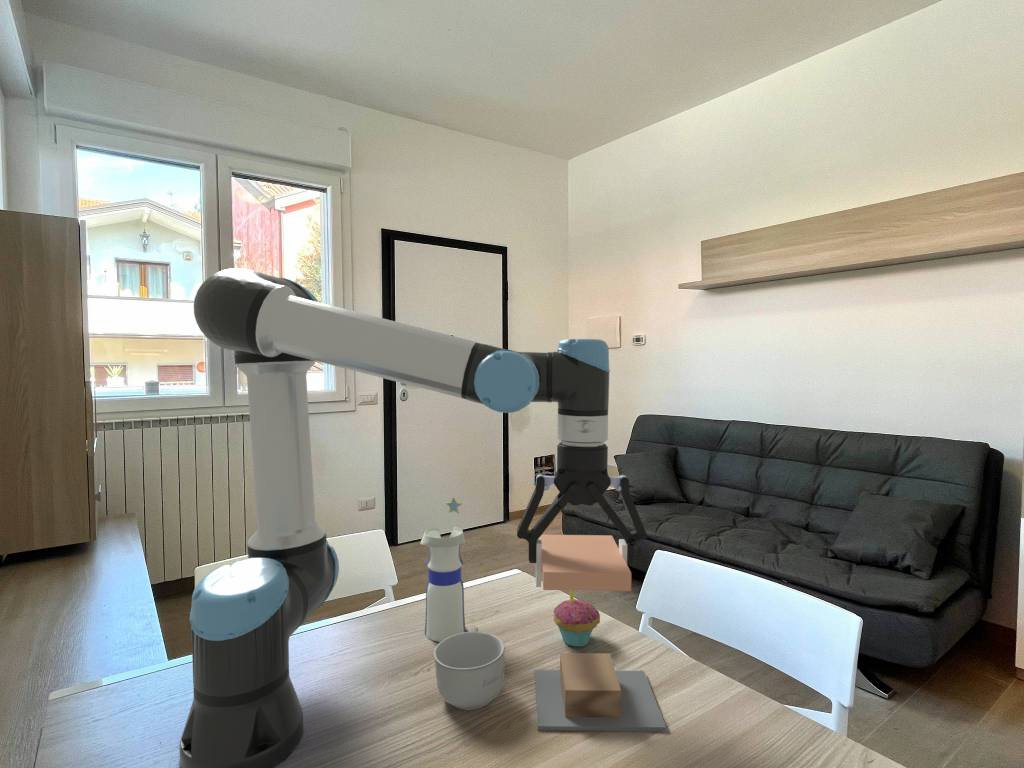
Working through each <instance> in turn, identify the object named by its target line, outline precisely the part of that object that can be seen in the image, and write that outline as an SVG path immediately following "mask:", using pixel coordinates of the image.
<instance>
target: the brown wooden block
mask: <svg viewBox="0 0 1024 768" xmlns="http://www.w3.org/2000/svg"><path fill="white" fill-rule="evenodd" d="M559 670H560V681H561V688H562V696H563V704H564V712H565V717H601V718H621V689H620V685H619V682H618V679H617V675H616V672H615V671H616V670H615V667H614V663H613V660H612V656H611V653H608V652H607V653H603V652H602V653H600V652H599V653H598V652H594V653H593V652H591V653H590V652H586V653H585V652H583V653H582V652H581V653H580V652H578V653H577V652H576V653H575V652H572V653H571V652H560V654H559Z"/></svg>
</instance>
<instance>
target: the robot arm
mask: <svg viewBox="0 0 1024 768" xmlns="http://www.w3.org/2000/svg"><path fill="white" fill-rule="evenodd" d="M193 299H194V301H193V315H194V320H195V322H196V324H197V326H198V328H199V330H200V331H201V334H203V336H204V337H206V338H207V339H208V340H209V341H210V342H211V343H213V344H215V345H216V346H217V347H219V348H222V349H225V350H228V351H232V352H233V355H234V366H235V368H236V369H238V370H239V371H240V372H242V373H243V374H244V375H245V377H246V381H247V396H248V413H249V425H250V428H249V429H250V440H251V444H250V445H251V456H252V457H251V459H252V469H253V470H252V471H253V474H252V475H253V487H254V500H255V502H254V503H255V515H256V516H255V518H256V527H257V528H256V530H255V532H254V533H253V534H252V535H251V536H250V537H249V539H247V542H246V543H247V558H244V559H239V560H236V561H233V563H231V564H224V565H222V566H219V567H218V568H215V569H213V570H211V571H210V572H209V573H207V574H206V575H205V576H204V577H203V578H201V580H200V581H198V583H197V585H196V586H195V588H194V590H193V592H192V595H191V607H190V612H189V622H190V628H191V652H192V653H191V654H192V655H191V656H192V657H191V658H192V678H193V679H192V682H193V683H192V684H193V699H192V703H191V705H190V706H191V707H190V710H189V712H188V715H187V719H186V722H185V726H184V728H183V731H182V735H181V736H180V737H181V738H180V740H179V766H180V768H273V767H275V766H276V765H278V764H279V763H280V762H282V761H283V760H285V759H286V758H287V757H288V756H289V755H290V754H291V753H293V751H294V750H295V749H296V747H297V746H298V745H299V743H300V742H301V739H302V738H303V735H304V729H305V728H304V722H305V721H304V720H305V719H304V710H303V706H302V704H301V702H300V700H299V697H298V694H297V692H296V689H295V687H294V683H293V682H292V680H291V677H290V650H289V645H290V643H289V641H290V637H291V636H292V635H293V634H294V633H295V632H296V631H297V630H298V628H299V627H301V625H303V624H304V622H306V621H307V620H308V619H309V617H310V616H311V615H313V613H314V612H315V611H317V610H318V609H320V607H321V606H322V605H323V604H324V603H326V601H327V599H329V597H330V595H331V593H332V591H333V590H334V588H335V586H336V584H337V581H338V578H339V573H340V572H339V571H340V566H339V565H340V564H339V558H338V555H337V552H336V550H335V548H334V547H333V546H331V545H330V543H329V541H328V539H327V530H326V528H325V527H324V526H323V525H321V524H320V523H319V522H317V521H316V510H315V507H316V506H315V496H314V495H315V494H314V491H315V490H314V478H313V477H314V476H313V463H312V462H313V461H312V447H311V434H310V433H311V430H310V429H311V428H310V414H309V401H308V386H307V385H308V382H307V373H309V372H308V371H310V369H311V368H312V367H313V366H314V365H315V364H316V362H318V363H322V364H326V365H331V366H335V367H338V368H342V369H344V370H349V371H353V372H357V373H361V374H366V375H370V376H373V377H378V378H381V379H385V380H389V381H393V382H397V383H400V384H401V383H402V384H404V385H409V386H413V387H417V388H420V389H423V390H424V389H425V390H428V391H432V392H437V393H440V394H443V395H444V394H445V395H448V396H451V397H452V396H453V397H455V398H461V399H463V400H466V401H469V402H473V403H477V404H481V405H484V406H485V407H487V408H489V409H490V410H492V411H495V412H498V413H505V414H508V413H509V414H510V413H511V414H513V413H516V412H519V411H521V410H523V409H524V408H526V407H528V406H529V405H530V404H531V403H557V433H556V434H557V437H556V438H557V439H558V440H559V441H560V442H559V443H558V444H557V447H556V452H557V453H556V471H555V474H554V475H544V474H543V473H537V475H536V476H535V488H534V490H533V492H532V495H531V496H530V499H529V502H528V504H527V506H526V508H525V510H524V513H523V514H522V517H521V519H520V521H519V524H518V526H517V529H516V537H517V538H518V539H520V540H521V539H523V540H526V541H527V543H528V562H529V563H530V564H535V587H536V588H542V572H541V564H542V542H541V538H539V537H540V536H541V535H544V532H545V531H546V530H547V528H548V527H549V526H550V525H551V524H552V522H553V521H554V520H555V518H556V517H557V516H558V515H559V513H560V512H561V511H562V510H563V509H564V508H565V507H566V506H567V504H570V505H571V506H579V505H585V506H594V505H596V504H597V503H598V505H599V506H600V508H601V509H602V510H603V512H604V513H605V514H606V515H607V517H608V518H609V520H610V521H611V522H612V523H613V525H614V526H615V528H616V529H617V530H618V532H619V533H620V534H621V536H622V537H623V538H619V539H618V548H619V551H620V553H621V555H622V556H623V558H624V560H625V562H626V564H627V565H633V564H634V562H635V545H636V543H637V542H638V541H645V540H647V538H648V534H647V532H646V529H645V526H644V525H643V522H642V520H641V517H640V514H639V512H638V510H637V507H636V505H635V503H634V500H633V498H632V494H631V493H630V479H629V478H628V477H627V476H626V475H625V474H623V473H622V474H618V476H609V472H608V458H609V456H608V455H609V451H608V450H609V449H608V448H609V447H608V446H607V444H606V443H605V442H606V441H608V439H609V396H610V395H609V394H610V392H609V391H610V372H611V370H610V355H609V354H610V352H609V345H608V344H607V342H606V341H605V340H603V339H600V338H599V339H597V338H595V339H594V338H564V339H560V340H559V342H558V347H557V351H552V352H535V351H534V352H532V351H516V350H512V349H506V348H503V347H502V348H501V347H497V346H493V345H490V344H484V343H480V342H477V341H474V340H470V339H466V338H462V337H458V336H455V335H450V334H447V333H443V332H438V331H435V330H430V329H426V328H422V327H417V326H414V325H411V324H408V323H407V324H406V323H402V322H399V321H395V320H390V319H387V318H383V317H378V316H376V315H371V314H370V315H369V314H368V313H363V312H359V311H354V310H351V309H348V308H343V307H339V306H336V305H332V304H327V303H323V302H319V301H318V299H317V298H316V295H314V294H313V293H312V291H310V290H308V289H307V288H305V287H304V286H302V285H300V284H298V283H297V282H296V281H293V280H291V279H288V278H285V277H277V276H273V275H269V274H266V273H263V272H258V271H256V270H253V269H248V268H242V267H241V268H237V267H235V268H227V269H222V270H219V271H218V272H215V273H213V274H212V275H210V276H209V277H207V278H206V279H205V280H204V281H203V282H202V283H201V285H200V286H199V288H198V289H197V291H196V294H195V296H194V298H193ZM552 485H554V486H555V487H556V489H557V490H558V493H557V495H556V496H555V498H554V499H553V501H551V504H550V505H549V506H548V507H547V509H546V510H545V511H544V513H543V514H542V515H541V516H540V518H539V519H538V520H537V521H536V523H535V524H534V525H533V527H531V529H529V528H530V525H531V523H532V521H533V518H534V516H535V514H536V512H537V510H538V507H539V505H540V503H541V501H542V499H543V496H544V493H545V491H549V489H550V487H551V486H552ZM611 485H612V486H613V488H614V489H615V491H617V492H618V493H619V495H620V498H621V500H622V502H623V505H624V507H625V509H626V512H627V515H628V517H629V519H630V522H631V524H632V527H633V528H634V530H630V529H629V528H628V527H627V525H626V524H625V523H624V521H623V520H622V519H621V518H620V516H619V514H618V513H617V512H616V510H615V509H614V508H613V507H612V505H611V504H610V502H609V501H608V499H606V497H605V496H604V494H605V493H606V491H607V490H608V489H609V487H610V486H611Z"/></svg>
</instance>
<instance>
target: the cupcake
mask: <svg viewBox="0 0 1024 768" xmlns="http://www.w3.org/2000/svg"><path fill="white" fill-rule="evenodd" d="M568 591H569V599H567V600H564V601H562V602H561V603H559V604H558V605H556V607H554V609H553V622H554V624H555V625H556V626H557V628H558V630H559V632H560V635H561V638H562V639H561V640H562V641H563V643H565V644H566V645H568V646H571V647H576V646H578V647H583V646H586V645H588V643H589V642H590V638H591V635H592V632H593V631H594V629H595V628H596V627H597V626H598V625H599V624H600V623H601V614H600V612H599V611H598V609H597V608H596V607H594V605H592V604H591V603H589V602H587V601H586V600H581V599H574V598H575V597H574V590H568Z"/></svg>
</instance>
